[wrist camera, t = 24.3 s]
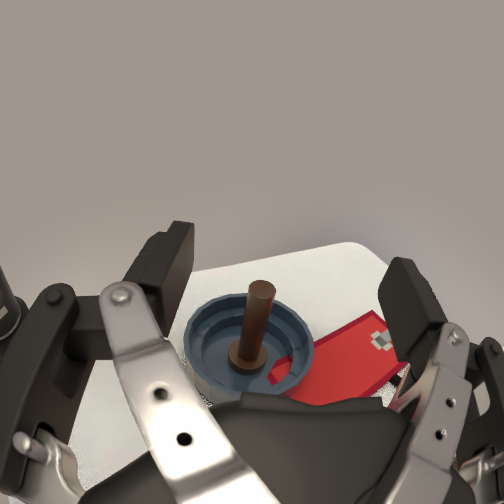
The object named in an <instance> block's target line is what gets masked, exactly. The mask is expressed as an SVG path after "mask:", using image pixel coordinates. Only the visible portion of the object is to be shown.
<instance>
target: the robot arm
mask: <svg viewBox="0 0 504 504" xmlns="http://www.w3.org/2000/svg"><path fill="white" fill-rule="evenodd" d="M193 262H194V223H190V222H182V221H173V223H172V224H171V226H170V227H169V229H168V231H167V232H158V233H156V234H155V235H153V236H152V237H150V238H149V239H148V240H147V242H146V243H145V245H144V247H143V249H142V250H141V251H140V253H139V256H137V257H136V259H135V260H134V262H133V264H132V265H131V267H130V269H129V270H128V272H127V273H126V275H125V277H124V278H123V280H122V281H120V282H115V283H112V284H111V285H109V286H107V287H106V288H105V289H104V290H103V291H102V292H101V294H100V295H97V296H76V295H75V292H74V290H73V288H72V287H71V286H69V285H68V284H64V283H58V284H53V285H51V286H48V287H47V288H45V289H44V290H43V291H42V292H41V293H40V294H39V296H38V297H37V299H36V300H35V302H34V303H33V305H32V306H31V308H30V310H29V311H28V313H27V314H26V316H25V318H24V319H23V321H22V323H21V324H20V322H21V319H22V310H21V307H20V305H19V303H18V302H17V301H16V299H15V297H14V295H13V293H12V290H11V289H10V286H9V284H8V282H7V280H6V278H5V275H4V274H3V271H2V269H1V266H0V342H2V341H4V340H6V339H8V338H9V337H10V336H12V335H13V334H14V332H15V331H16V330H17V331H16V333H15V335H14V336H13V338H12V340H11V342H10V344H9V345H8V347H7V349H6V351H5V353H4V355H3V357H2V359H1V361H0V492H1V493H3V494H5V495H8V496H11V497H14V498H18V499H19V500H21V501H22V502H24V503H25V504H502V503H504V351H503V349H502V347H501V345H500V344H499V343H498V342H497V341H496V340H495V339H493V338H491V337H486V338H485V339H484V340H483V341H482V342H481V343H480V345H477V344H474V343H471V342H469V338H468V336H467V334H466V332H465V331H464V330H463V329H462V328H461V327H460V326H458V325H457V324H454V323H451V322H448V320H447V318H446V316H445V314H444V312H443V310H442V308H441V306H440V304H439V302H438V300H437V299H436V296H435V294H434V292H432V288H431V287H430V285H429V283H428V281H427V280H426V279H425V278H424V277H423V276H422V275H421V274H420V272H419V271H418V269H417V267H416V265H415V263H414V262H413V260H411V259H407V258H401V257H395V258H393V260H392V261H391V264H390V265H389V267H388V269H387V271H386V273H385V275H384V277H383V279H382V281H381V283H380V285H379V289H378V300H379V303H380V306H381V309H382V312H383V315H384V318H385V321H386V324H387V327H388V331H389V334H390V337H391V340H392V344H393V347H394V351H395V354H396V358H397V361H398V362H409V363H410V366H409V367H408V368H407V369H406V371H405V373H404V375H403V377H402V379H401V382H400V384H399V386H398V388H397V390H396V392H395V394H394V396H393V398H392V400H391V402H390V404H389V405H388V407H384V406H383V403H382V398H381V397H351V398H348V399H344V400H340V401H336V402H332V403H328V404H324V405H312V404H308V403H305V402H301V401H298V400H295V399H291V398H288V397H285V396H281V395H275V394H265V393H255V392H247V391H241V395H240V399H239V400H235V401H228V402H223V403H220V404H217V405H214V406H211V407H209V408H207V406H206V404H205V403H204V401H203V399H202V398H201V396H200V394H199V393H198V391H197V389H196V387H195V386H194V384H193V382H192V380H191V379H190V377H189V375H188V373H187V371H186V370H185V368H184V366H183V364H182V362H181V360H180V359H179V357H178V355H177V353H176V351H175V349H174V347H173V345H172V344H171V342H170V341H169V340H165V338H164V337H167V338H168V335H169V332H170V329H171V327H172V324H173V321H174V318H175V315H176V312H177V310H178V307H179V304H180V301H181V299H182V296H183V293H184V290H185V288H186V285H187V282H188V280H189V277H190V274H191V271H192V267H193ZM19 325H20V326H19ZM18 327H19V328H18ZM17 328H18V329H17ZM96 360H113V363H114V366H115V369H116V372H117V375H118V378H119V381H120V383H121V386H122V389H123V391H124V394H125V397H126V399H127V402H128V404H129V407H130V409H131V412H132V414H133V416H134V419H135V421H136V423H137V426H138V428H139V430H140V432H141V434H142V437H143V439H144V441H145V443H146V445H147V447H148V449H149V451H147V452H146V453H144V454H143V455H141V456H140V457H139V458H137V459H136V460H134V461H133V462H131V463H130V464H128V465H127V466H125V467H124V468H122V469H121V470H119V471H118V472H116V473H115V474H113V475H112V476H110V477H108V478H107V479H105V480H104V481H102V482H100V483H99V484H97V485H95V486H94V487H92V488H90V489H89V490H88V491H86V492H85V490H84V489H83V488H82V486H81V485H80V483H79V480H78V475H77V469H78V465H77V459H76V457H75V454H74V453H73V451H72V450H71V449H70V448H69V447H68V442H69V439H70V435H71V432H72V428H73V425H74V421H75V418H76V415H77V412H78V409H79V406H80V402H81V399H82V396H83V394H84V391H85V388H86V385H87V382H88V379H89V377H90V374H91V371H92V368H93V366H94V363H95V361H96ZM483 382H485V385H486V388H487V392H488V395H489V399H490V405H489V408H488V410H487V411H486V412H485V413H484V414H482V415H481V416H480V413H479V409H478V405H477V401H476V398H475V394H474V390H475V389H476V388H477V387H478V386H479V385H481V384H482V383H483ZM455 452H456V457H457V465H458V472H457V471H456V470H455V469H454V468H453V467H452V466H451V464H452V461H453V458H454V455H455Z"/></svg>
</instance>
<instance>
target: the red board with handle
mask: <svg viewBox="0 0 504 504" xmlns="http://www.w3.org/2000/svg"><path fill="white" fill-rule="evenodd" d="M313 344H314V357H313V360H312V364H311V367H310V370H309V372H308V373H307V375H306V377H305V378H304V380H303V382H302V383H301V385H300V387H299V388H298V389H297V390H296V392H295V393H294V394H293V395H292V396H291V397H290V398H291V399H295V400H298V401H301V402H305V403H308V404H312V405H324V404H328V403H332V402H336V401H340V400H344V399H348V398H351V397H370V396H371V395H372V394H374V393H375V392H376V391H377V390H378V389H380V388H381V387H382V386H383V385H384V384H385V383H387V382H388V381H390V382H392V383H393V384H395V385H396V386H397V387H398V386H399V384H400V382H401V379H402V378H401V377H400V376H398V375H397V373H398V372H399V371H400V370H401V369H402V368H403V367H404V366H405V365H406V364H407V363H408V362H398V361H397V358H396V354H395V351H394V347H393V344H392V340H391V337H390V334H389V331H388V327H387V324H386V322H385V321H384V320H383V319H381V318H380V317H379V316H378V315H377V314H376V313H375V312H374V311H373V310H371V311H369V312H368V313H366V314H364V315H362V316H361V317H359V318H357V319H356V320H354V321H352V322H350V323H349V324H347V325H345V326H343V327H341V328H340V329H338V330H336V331H334V332H332V333H330V334H329V335H327V336H325V337H323V338H321V339H319V340H317V341H315V342H313ZM288 371H289V357H288V355H287V356H285V357H283V358H281V359H278V360H276V361H275V363H274V365H273V367H272V369H271V370H270V372H269V374H268V376H267V377H266V378H267V379H268V380H269V382H270V383H271V385H274V384H276V383H278V382H280V381H281V380H282V379H283V378H284V377H285V376H286V375H287V373H288Z"/></svg>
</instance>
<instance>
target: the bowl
mask: <svg viewBox="0 0 504 504" xmlns="http://www.w3.org/2000/svg"><path fill="white" fill-rule="evenodd" d="M247 295H248V293H241V294H229V295H225V296H221V297H218V298H215V299H212V300H210V301H209V302H207V303H206V304H204V305H203V306H201V307H200V308H198V309H197V311H196V312H195V313H194V314H193V316H192V317H191V318H190V319H189V321H188V323H187V326H186V330H185V333H184V337H183V338H184V349H185V359H186V367H187V373H188V375H189V377H190V379H191V380H192V382H193V384H194V386H195V387H196V389H197V390H198V391H199V392H200V393H201V394H202V395H203V396H205V397H206V398H207V399H208V400H209V401H210V402H212V403H214V404H220V403H223V402H228V401H235V400H239V399H240V395H241V391H247V392H255V393H265V394H275V395H281V396H285V397H288V398H290V397H291V396H292V395H293V394H294V393H295V392H296V390H297V389H298V388H299V387H300V385H301V383H302V382H303V380H304V378H305V377H306V375H307V373H308V372H309V370H310V367H311V364H312V360H313V357H314V344H313V337H312V335H311V333H310V331H309V329H308V327H307V325H306V323H305V322H304V321H303V320H302V319H301V318H300V316H299V315H298V314H297V313H296V312H295V311H293V310H292V309H290V308H289V307H287V306H286V305H284V304H283V303H281V302H279V301H276V300H274V301H273V305H272V309H271V312H270V316H269V320H268V323H267V327H266V331H265V334H264V338H263V341H262V344H263V345H264V347H265V348H266V350H267V360H266V363H265V366H264V368H263V369H262V370H261V371H260V372H259V373H257V374H254V375H242V374H239V373H237V372H235V371H234V370H233V369H232V368H231V367H230V365H229V363H228V352H229V348H230V346H231V344H232V343H233V342H235V341H236V340H238V339H240V335H241V330H242V324H243V318H244V312H245V307H246V301H247ZM287 355H288V357H289V371H288V373H287V375H286V376H285V377H284V378H283V379H282V380H281V381H280V382H278V383H276V384H274V385H271V383H270V382H269V380H268V379H267V378H266V377H267V376H268V374H269V372H270V370H271V369H272V367H273V365H274V363H275V361H276V360H278V359H281V358H283V357H285V356H287Z"/></svg>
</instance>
